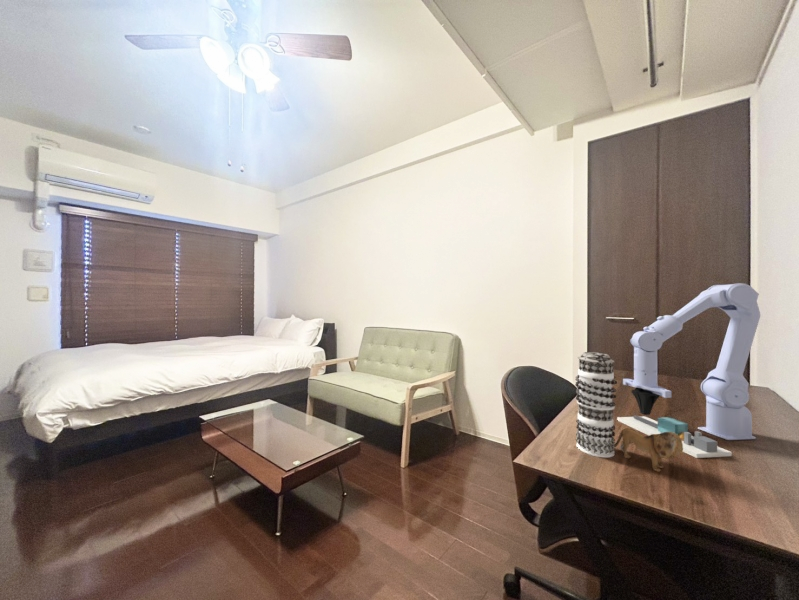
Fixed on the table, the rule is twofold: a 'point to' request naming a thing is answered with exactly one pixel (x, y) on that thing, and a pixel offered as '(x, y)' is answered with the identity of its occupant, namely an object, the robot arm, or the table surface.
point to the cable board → (691, 444)
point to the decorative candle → (595, 404)
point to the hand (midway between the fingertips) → (645, 414)
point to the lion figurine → (652, 445)
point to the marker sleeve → (671, 425)
